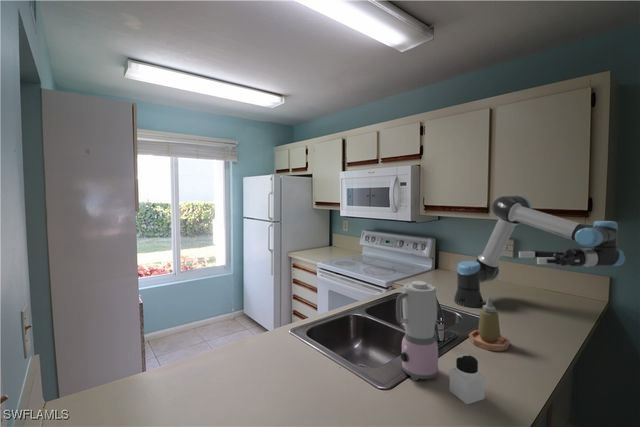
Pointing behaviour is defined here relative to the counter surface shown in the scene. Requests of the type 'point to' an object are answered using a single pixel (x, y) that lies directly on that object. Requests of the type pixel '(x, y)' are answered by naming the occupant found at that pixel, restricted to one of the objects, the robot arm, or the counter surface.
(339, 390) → the counter surface
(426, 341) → the blender
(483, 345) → the dish
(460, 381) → the medicine bottle
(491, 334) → the squeeze bottle
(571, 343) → the counter surface
